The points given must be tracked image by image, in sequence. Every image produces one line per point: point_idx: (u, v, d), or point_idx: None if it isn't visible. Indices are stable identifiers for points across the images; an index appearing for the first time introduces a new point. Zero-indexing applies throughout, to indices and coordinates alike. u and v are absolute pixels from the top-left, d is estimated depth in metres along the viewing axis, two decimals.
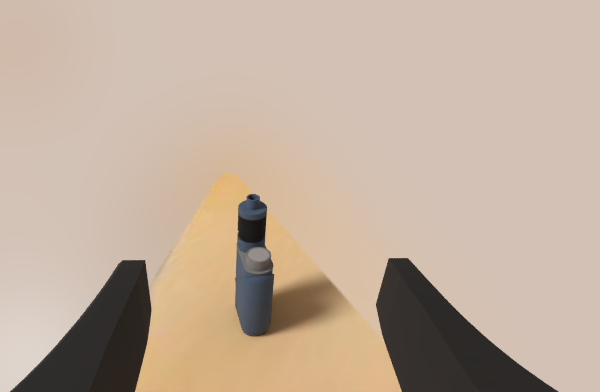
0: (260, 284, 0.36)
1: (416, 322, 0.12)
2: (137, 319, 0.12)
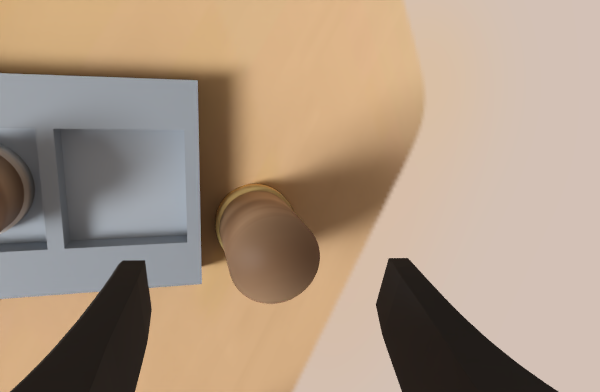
0: None
1: (416, 322, 0.12)
2: (137, 319, 0.12)
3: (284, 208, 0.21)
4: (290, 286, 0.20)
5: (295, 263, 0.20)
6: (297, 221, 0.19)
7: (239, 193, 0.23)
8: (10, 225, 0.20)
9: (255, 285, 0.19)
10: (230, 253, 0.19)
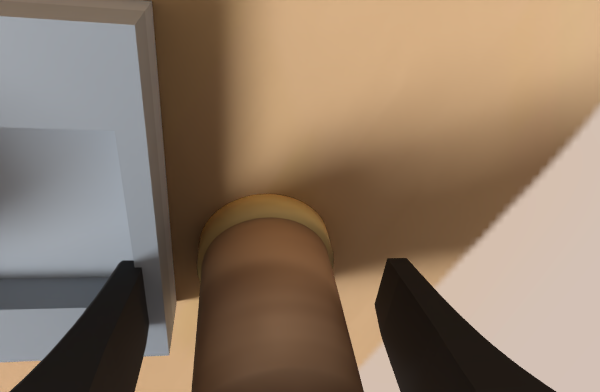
0: None
1: (414, 322, 0.12)
2: (137, 319, 0.12)
3: (310, 305, 0.11)
4: None
5: None
6: (330, 370, 0.09)
7: (237, 220, 0.13)
8: None
9: None
10: None
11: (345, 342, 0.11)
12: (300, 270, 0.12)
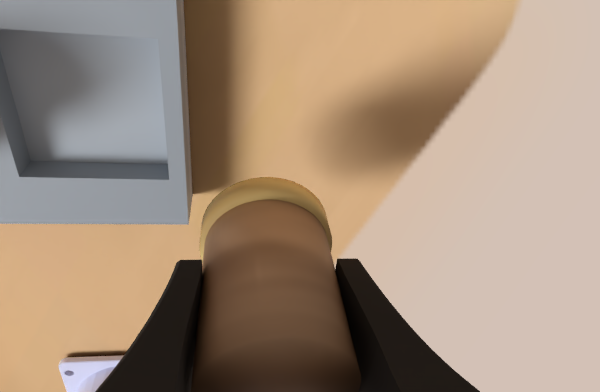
0: None
1: (357, 324, 0.11)
2: None
3: (307, 281, 0.11)
4: None
5: None
6: (325, 341, 0.10)
7: (238, 202, 0.13)
8: None
9: None
10: (193, 382, 0.10)
11: (341, 317, 0.11)
12: (298, 249, 0.12)
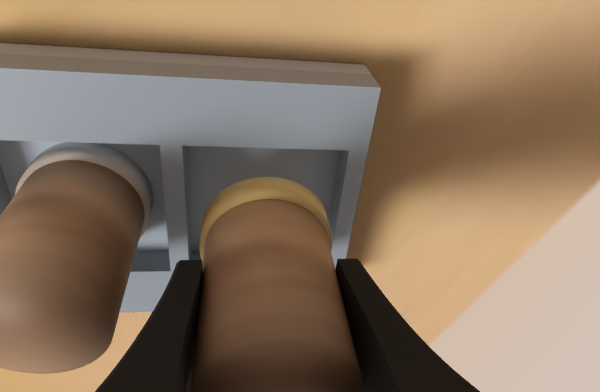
0: None
1: (357, 324, 0.11)
2: (197, 317, 0.12)
3: (308, 281, 0.11)
4: None
5: None
6: (326, 341, 0.10)
7: (238, 201, 0.13)
8: None
9: None
10: (193, 382, 0.10)
11: (341, 317, 0.11)
12: (299, 248, 0.12)
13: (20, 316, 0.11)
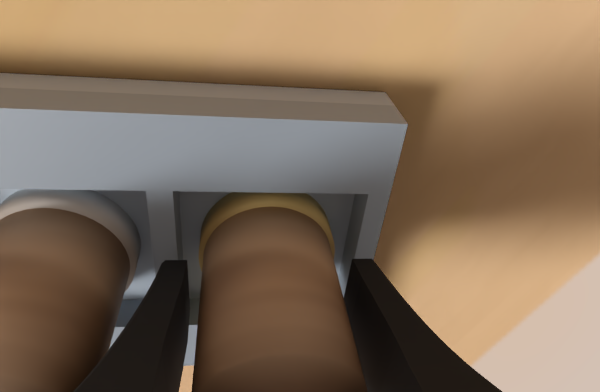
0: None
1: (374, 323, 0.11)
2: (182, 318, 0.12)
3: (311, 293, 0.11)
4: None
5: None
6: (331, 357, 0.09)
7: (239, 209, 0.13)
8: None
9: None
10: None
11: (346, 330, 0.11)
12: (301, 258, 0.12)
13: None
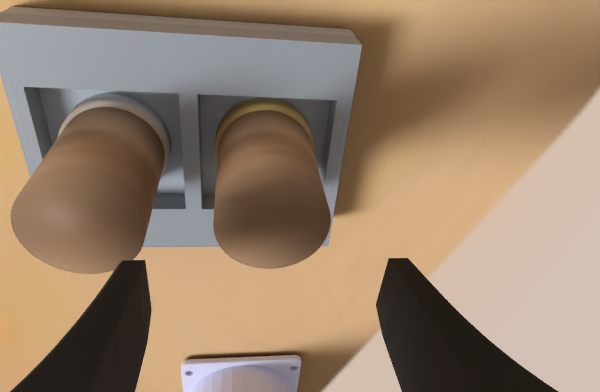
0: None
1: (416, 322, 0.12)
2: (137, 319, 0.12)
3: (293, 153, 0.16)
4: (290, 253, 0.16)
5: (298, 229, 0.16)
6: (305, 182, 0.14)
7: (244, 112, 0.18)
8: None
9: (247, 250, 0.16)
10: (215, 214, 0.15)
11: (317, 177, 0.16)
12: (287, 137, 0.17)
13: (72, 219, 0.14)
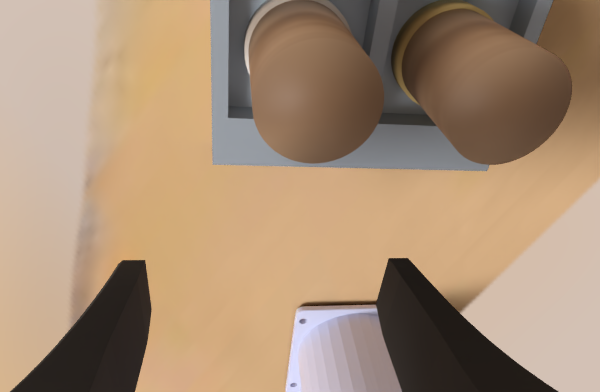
0: None
1: (416, 322, 0.12)
2: (137, 319, 0.12)
3: None
4: (515, 146, 0.15)
5: (533, 116, 0.15)
6: (557, 58, 0.14)
7: (439, 10, 0.17)
8: None
9: (474, 140, 0.15)
10: (457, 94, 0.14)
11: None
12: (504, 27, 0.16)
13: (315, 93, 0.13)
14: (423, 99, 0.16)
